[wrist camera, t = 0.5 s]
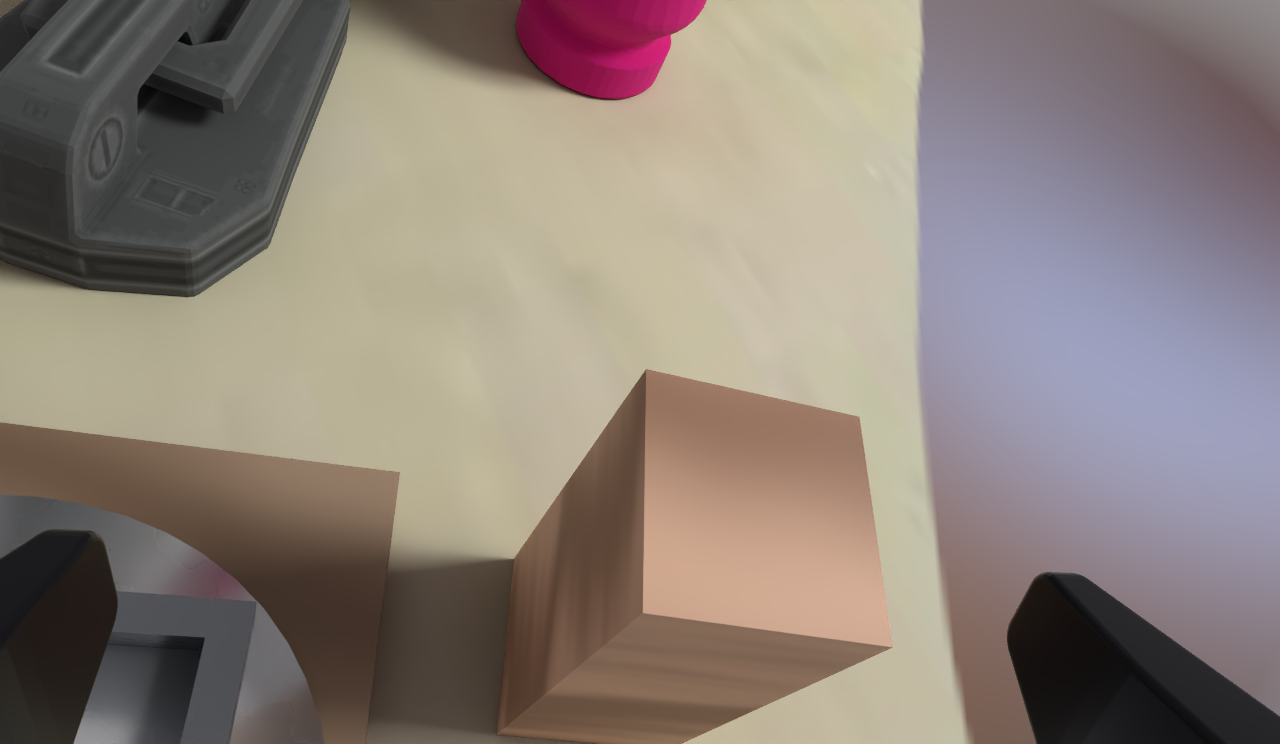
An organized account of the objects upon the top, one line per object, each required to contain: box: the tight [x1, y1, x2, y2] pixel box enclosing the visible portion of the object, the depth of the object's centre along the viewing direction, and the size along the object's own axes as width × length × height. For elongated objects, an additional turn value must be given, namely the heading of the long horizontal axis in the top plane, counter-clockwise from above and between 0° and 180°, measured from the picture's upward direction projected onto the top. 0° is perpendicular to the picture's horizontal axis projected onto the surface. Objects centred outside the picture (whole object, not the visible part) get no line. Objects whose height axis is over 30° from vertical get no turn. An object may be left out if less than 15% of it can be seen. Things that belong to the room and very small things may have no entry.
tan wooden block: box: [496, 369, 893, 744], centre depth 19 cm, size 4×4×10 cm
